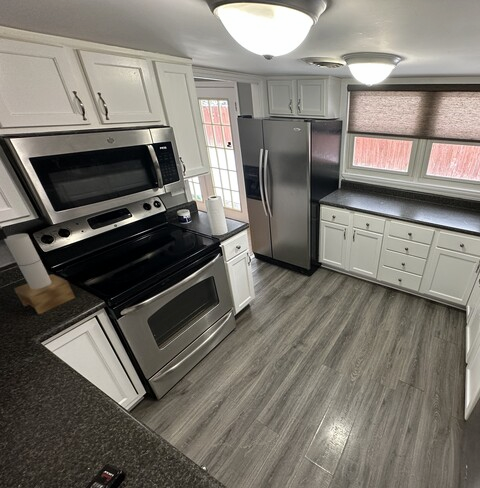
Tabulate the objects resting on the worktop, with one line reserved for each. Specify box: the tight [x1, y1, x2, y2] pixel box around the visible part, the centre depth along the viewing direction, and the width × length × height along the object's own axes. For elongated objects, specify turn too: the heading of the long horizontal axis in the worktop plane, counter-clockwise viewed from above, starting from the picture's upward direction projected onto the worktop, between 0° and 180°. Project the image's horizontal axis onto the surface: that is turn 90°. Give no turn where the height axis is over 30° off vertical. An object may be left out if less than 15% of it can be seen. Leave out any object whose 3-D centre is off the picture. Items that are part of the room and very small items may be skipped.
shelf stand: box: [13, 273, 76, 315], centre depth 127 cm, size 14×14×10 cm
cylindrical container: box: [3, 233, 52, 289], centre depth 119 cm, size 7×7×25 cm
